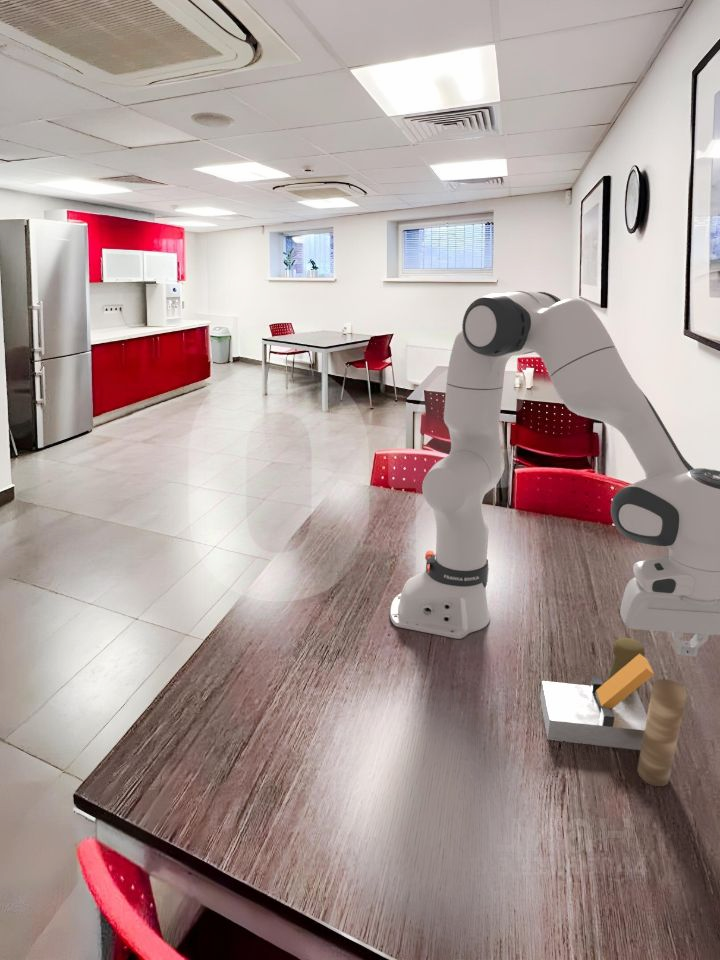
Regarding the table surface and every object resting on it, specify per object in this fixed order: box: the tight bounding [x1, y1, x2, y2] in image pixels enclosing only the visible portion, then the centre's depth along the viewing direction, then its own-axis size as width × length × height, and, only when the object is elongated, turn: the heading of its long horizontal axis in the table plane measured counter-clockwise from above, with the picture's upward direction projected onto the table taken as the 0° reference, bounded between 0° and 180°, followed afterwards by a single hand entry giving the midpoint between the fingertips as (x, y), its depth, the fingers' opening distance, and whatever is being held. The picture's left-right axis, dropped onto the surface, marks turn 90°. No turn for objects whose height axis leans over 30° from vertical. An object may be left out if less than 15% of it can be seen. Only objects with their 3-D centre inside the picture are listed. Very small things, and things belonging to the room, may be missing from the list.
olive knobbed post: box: [606, 637, 646, 698], centre depth 106 cm, size 6×6×11 cm
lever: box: [595, 654, 655, 711], centre depth 97 cm, size 2×4×11 cm
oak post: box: [636, 678, 688, 787], centre depth 87 cm, size 4×4×16 cm
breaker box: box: [539, 675, 648, 751], centre depth 99 cm, size 16×10×6 cm, turn 81°
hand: (684, 653), depth 93 cm, fingers closed
